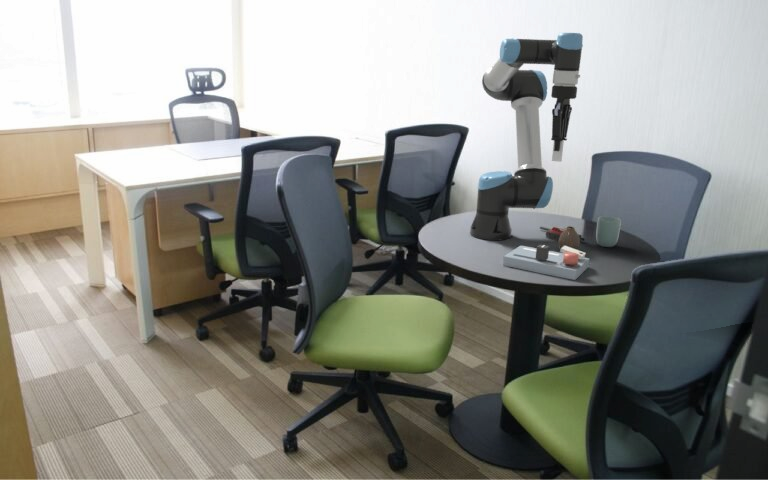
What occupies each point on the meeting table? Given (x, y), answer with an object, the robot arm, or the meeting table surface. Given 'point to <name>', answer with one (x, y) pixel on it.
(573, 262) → the button
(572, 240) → the vase
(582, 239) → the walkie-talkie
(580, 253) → the rocker
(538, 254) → the slider
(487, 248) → the meeting table surface
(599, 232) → the cup
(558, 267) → the console
